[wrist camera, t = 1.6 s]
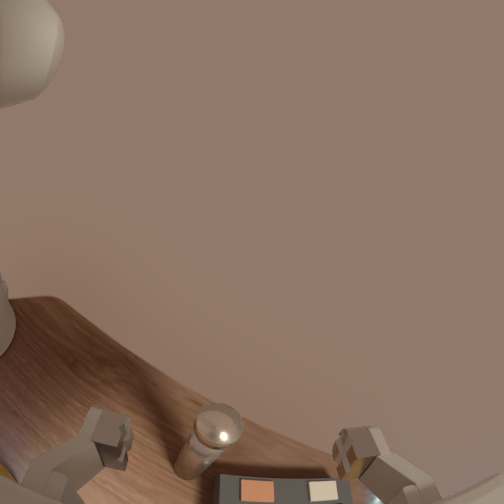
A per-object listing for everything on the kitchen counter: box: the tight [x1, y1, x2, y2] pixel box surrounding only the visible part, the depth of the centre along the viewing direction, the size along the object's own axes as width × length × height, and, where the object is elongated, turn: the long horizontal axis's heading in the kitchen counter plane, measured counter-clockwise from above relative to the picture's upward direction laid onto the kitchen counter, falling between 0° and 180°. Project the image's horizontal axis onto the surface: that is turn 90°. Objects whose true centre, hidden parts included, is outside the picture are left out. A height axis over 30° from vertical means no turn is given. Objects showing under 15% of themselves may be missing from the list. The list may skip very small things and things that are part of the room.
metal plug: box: [173, 403, 244, 480], centre depth 24 cm, size 4×4×14 cm
